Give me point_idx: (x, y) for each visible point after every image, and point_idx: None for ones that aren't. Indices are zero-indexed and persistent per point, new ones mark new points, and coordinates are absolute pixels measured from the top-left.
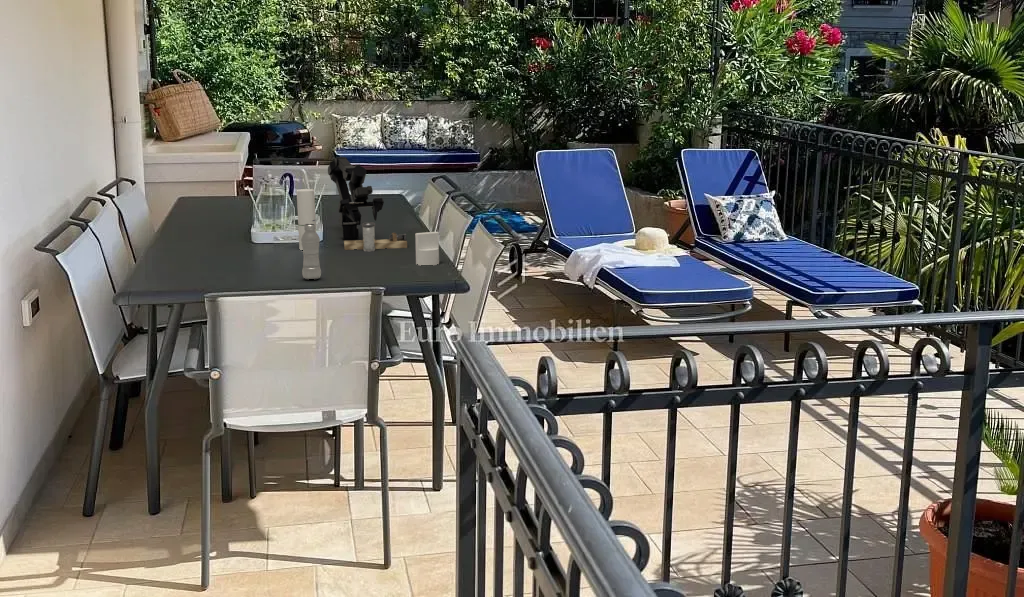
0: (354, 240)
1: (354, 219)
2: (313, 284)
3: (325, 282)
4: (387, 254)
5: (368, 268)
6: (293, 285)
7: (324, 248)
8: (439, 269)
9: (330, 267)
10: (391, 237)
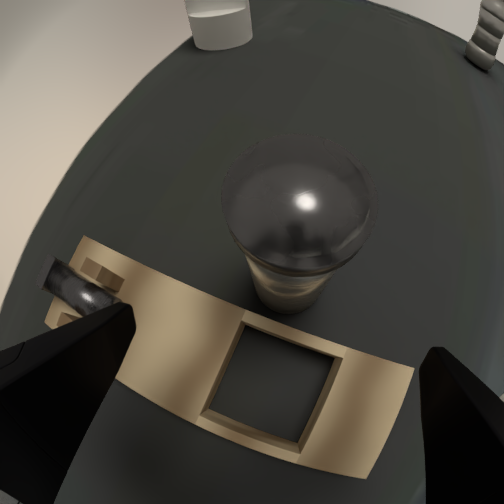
0: (306, 463)
1: (443, 354)
2: None
3: (452, 43)
4: None
5: (378, 51)
6: None
7: None
8: None
9: (465, 102)
10: (109, 293)
